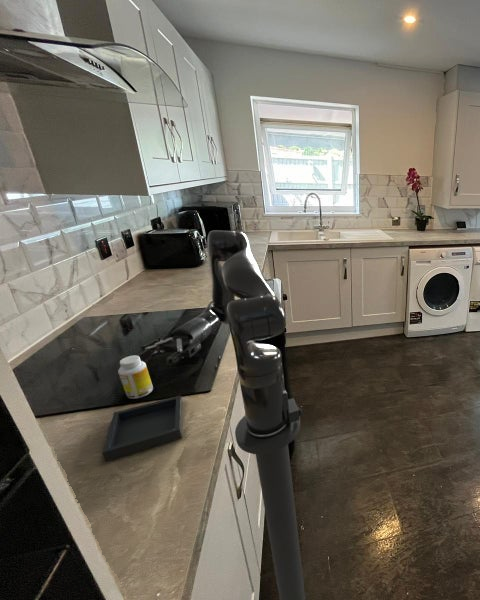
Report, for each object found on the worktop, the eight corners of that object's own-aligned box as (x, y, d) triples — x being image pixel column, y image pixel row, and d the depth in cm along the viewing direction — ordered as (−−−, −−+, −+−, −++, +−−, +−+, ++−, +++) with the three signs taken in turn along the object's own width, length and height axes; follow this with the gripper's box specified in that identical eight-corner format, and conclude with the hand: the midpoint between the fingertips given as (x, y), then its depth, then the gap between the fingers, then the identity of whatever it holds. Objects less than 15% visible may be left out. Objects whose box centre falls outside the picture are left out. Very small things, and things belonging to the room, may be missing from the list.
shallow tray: (182, 403, 81) (180, 395, 80) (182, 438, 71) (179, 429, 70) (116, 420, 75) (113, 412, 74) (105, 462, 65) (101, 452, 64)
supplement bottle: (156, 384, 87) (147, 352, 84) (149, 397, 83) (138, 364, 79) (131, 388, 86) (120, 355, 82) (122, 401, 81) (110, 367, 77)
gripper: (168, 321, 101) (123, 347, 86) (211, 324, 101) (174, 351, 86) (173, 341, 104) (131, 370, 89) (216, 345, 103) (180, 374, 88)
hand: (152, 361), depth 87 cm, fingers open, 8 cm apart
